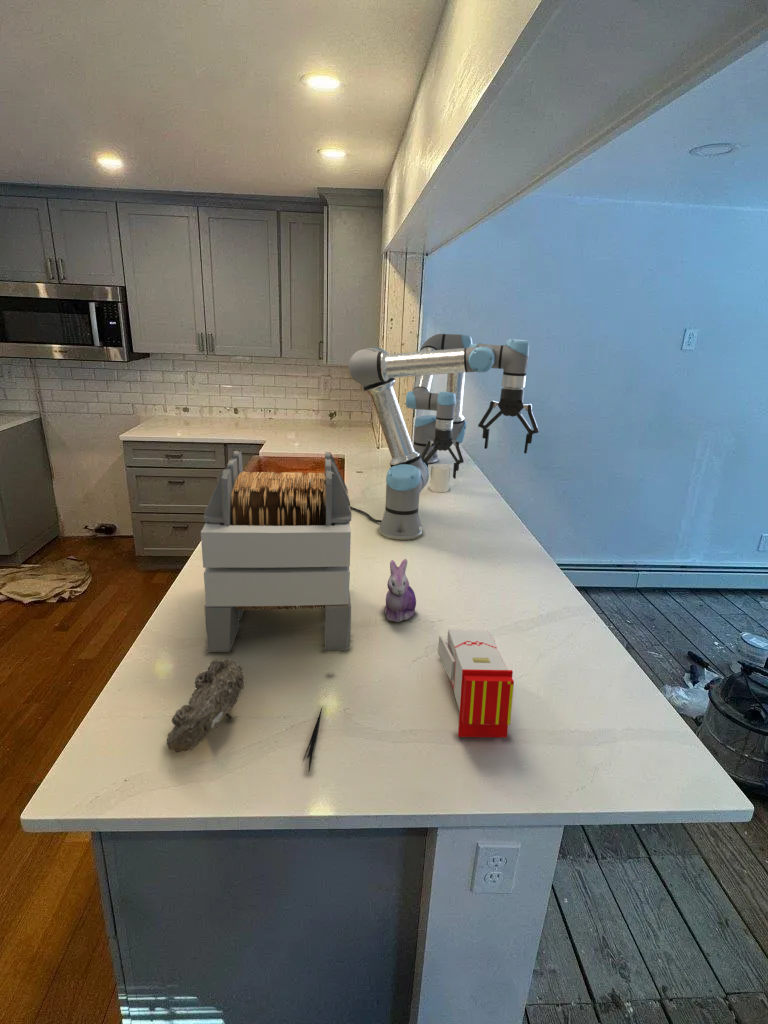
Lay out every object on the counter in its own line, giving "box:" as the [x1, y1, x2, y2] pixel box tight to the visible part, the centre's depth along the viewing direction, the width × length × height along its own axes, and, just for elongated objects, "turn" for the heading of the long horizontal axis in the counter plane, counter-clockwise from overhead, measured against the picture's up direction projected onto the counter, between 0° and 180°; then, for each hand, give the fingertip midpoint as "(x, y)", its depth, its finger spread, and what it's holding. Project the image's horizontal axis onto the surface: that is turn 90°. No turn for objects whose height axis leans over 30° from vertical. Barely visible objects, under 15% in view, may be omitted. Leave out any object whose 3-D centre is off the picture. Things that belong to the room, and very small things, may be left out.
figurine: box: [384, 558, 417, 623], centre depth 145 cm, size 9×10×15 cm
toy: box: [437, 628, 515, 738], centre depth 117 cm, size 12×13×30 cm
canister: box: [429, 463, 452, 493], centre depth 250 cm, size 8×8×11 cm
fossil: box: [166, 658, 245, 754], centre depth 106 cm, size 22×10×15 cm
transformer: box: [200, 450, 353, 653], centre depth 138 cm, size 34×33×41 cm
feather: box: [301, 673, 332, 771], centre depth 108 cm, size 2×28×2 cm
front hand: (505, 450), depth 196 cm, fingers open, 13 cm apart
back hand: (440, 477), depth 250 cm, fingers open, 12 cm apart
